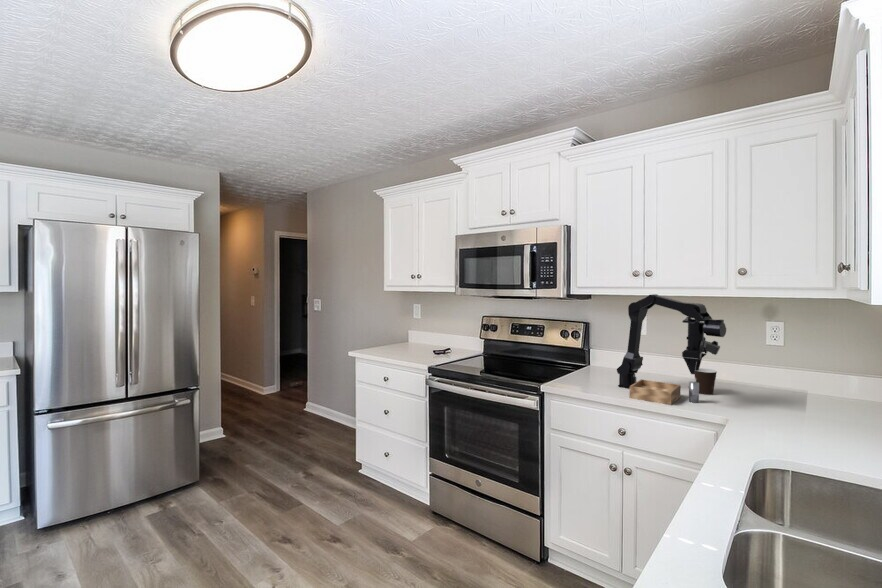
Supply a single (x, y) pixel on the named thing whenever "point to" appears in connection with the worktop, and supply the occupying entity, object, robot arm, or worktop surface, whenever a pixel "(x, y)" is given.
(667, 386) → the tray
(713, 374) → the coffee mug
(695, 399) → the peg
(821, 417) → the worktop surface
